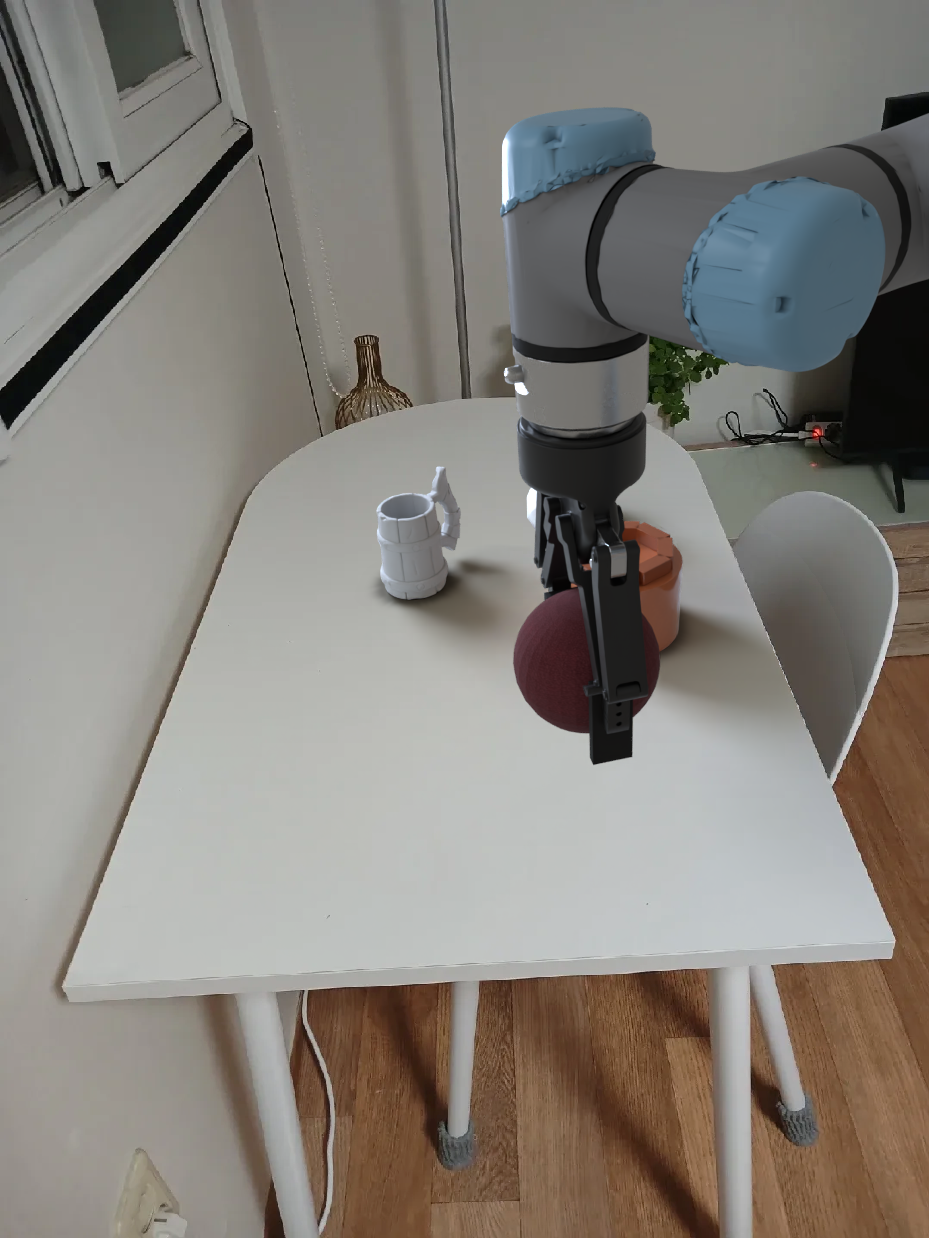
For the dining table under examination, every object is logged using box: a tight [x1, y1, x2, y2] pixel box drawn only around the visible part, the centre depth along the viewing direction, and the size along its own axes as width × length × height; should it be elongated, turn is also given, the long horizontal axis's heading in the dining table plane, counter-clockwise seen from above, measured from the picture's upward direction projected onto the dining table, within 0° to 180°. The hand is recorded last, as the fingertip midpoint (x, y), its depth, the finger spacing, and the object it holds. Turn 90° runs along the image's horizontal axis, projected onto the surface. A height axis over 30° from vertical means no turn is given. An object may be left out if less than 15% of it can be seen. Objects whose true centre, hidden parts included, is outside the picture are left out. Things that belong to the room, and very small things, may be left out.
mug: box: [376, 465, 462, 600], centre depth 106 cm, size 8×12×12 cm, turn 140°
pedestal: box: [571, 520, 684, 653], centre depth 96 cm, size 12×12×10 cm
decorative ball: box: [512, 588, 661, 734], centre depth 65 cm, size 10×10×10 cm
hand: (587, 707), depth 68 cm, fingers closed on decorative ball, 10 cm apart
